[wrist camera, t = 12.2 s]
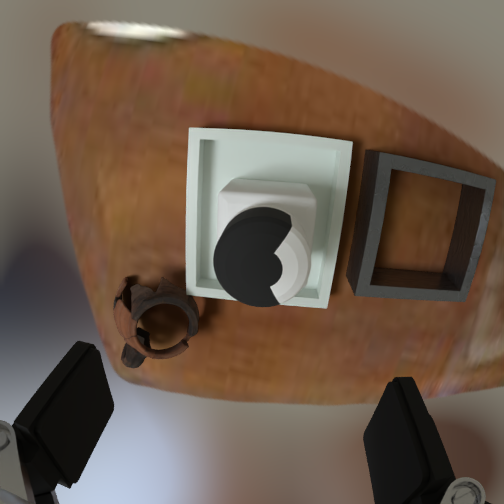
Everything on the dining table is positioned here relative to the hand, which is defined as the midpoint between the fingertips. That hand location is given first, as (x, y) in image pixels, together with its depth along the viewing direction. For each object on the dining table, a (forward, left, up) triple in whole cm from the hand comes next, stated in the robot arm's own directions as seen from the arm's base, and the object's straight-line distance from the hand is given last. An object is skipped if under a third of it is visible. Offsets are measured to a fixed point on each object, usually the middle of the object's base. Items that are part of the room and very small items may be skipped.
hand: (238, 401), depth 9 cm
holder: (-15, -1, -23) cm, 28 cm away
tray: (0, 0, -23) cm, 23 cm away
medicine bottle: (0, 0, -23) cm, 23 cm away
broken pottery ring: (+12, +12, -24) cm, 29 cm away
